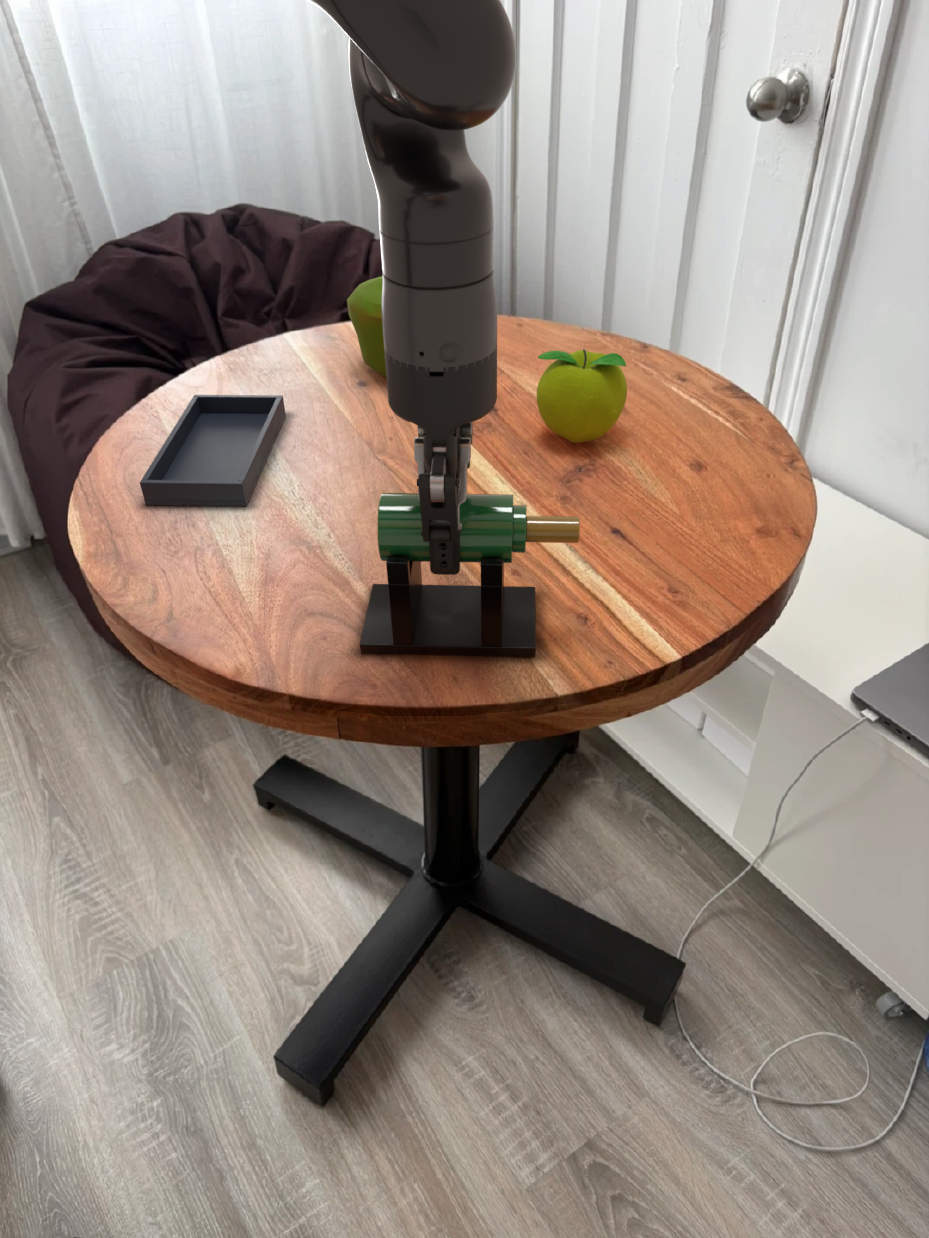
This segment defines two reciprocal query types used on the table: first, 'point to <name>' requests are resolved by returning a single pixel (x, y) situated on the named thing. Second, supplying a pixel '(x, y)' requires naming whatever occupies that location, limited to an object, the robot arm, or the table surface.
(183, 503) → the tray
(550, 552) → the table surface
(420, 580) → the rack
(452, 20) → the robot arm
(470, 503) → the green bottle
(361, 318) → the apple
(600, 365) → the fruit
